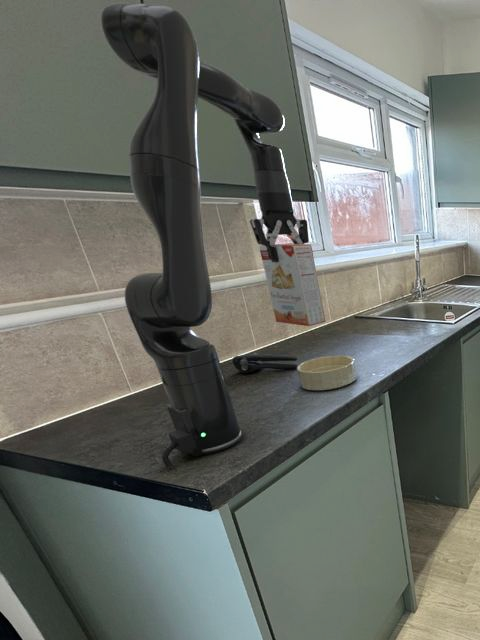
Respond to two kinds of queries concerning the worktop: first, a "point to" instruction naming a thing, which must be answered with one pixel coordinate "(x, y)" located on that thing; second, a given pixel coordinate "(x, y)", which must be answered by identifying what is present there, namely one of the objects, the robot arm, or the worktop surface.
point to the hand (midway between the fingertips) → (287, 261)
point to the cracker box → (293, 284)
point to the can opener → (248, 366)
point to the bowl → (326, 372)
